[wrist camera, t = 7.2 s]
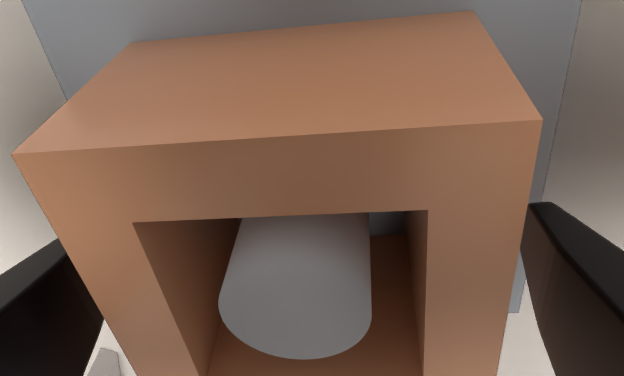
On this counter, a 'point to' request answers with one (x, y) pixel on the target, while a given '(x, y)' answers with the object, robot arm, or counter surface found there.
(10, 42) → the counter surface
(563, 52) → the grey peg base
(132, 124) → the collar
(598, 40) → the counter surface
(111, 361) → the pliers
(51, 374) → the robot arm
